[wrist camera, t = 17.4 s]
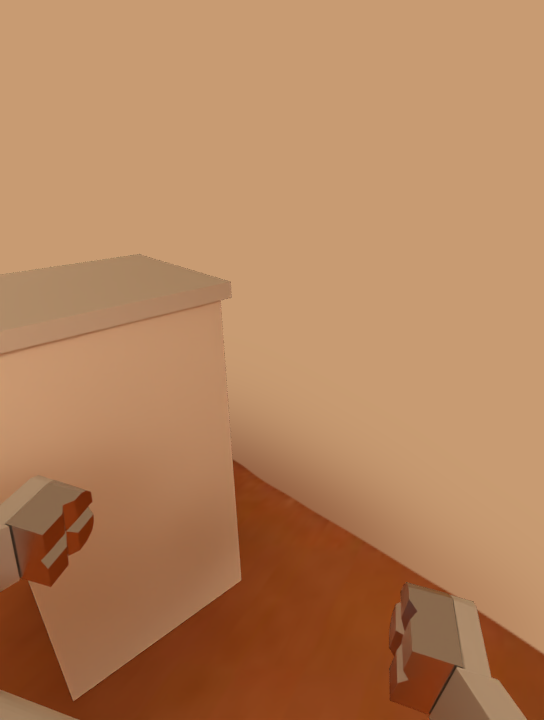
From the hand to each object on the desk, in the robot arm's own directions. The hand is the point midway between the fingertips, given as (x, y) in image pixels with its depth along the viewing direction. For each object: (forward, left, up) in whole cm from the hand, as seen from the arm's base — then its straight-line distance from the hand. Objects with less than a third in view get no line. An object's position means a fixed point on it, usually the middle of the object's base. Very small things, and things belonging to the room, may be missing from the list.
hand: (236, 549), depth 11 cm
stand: (+14, -16, -24) cm, 32 cm away
